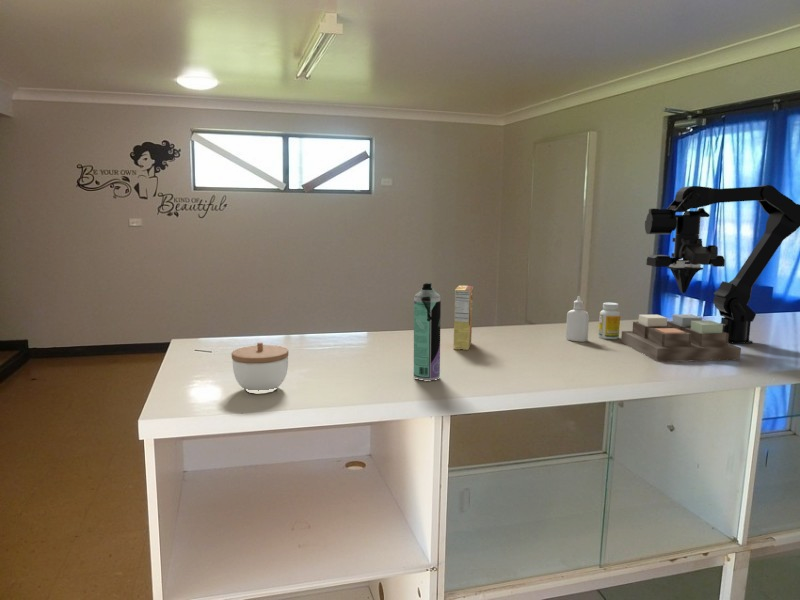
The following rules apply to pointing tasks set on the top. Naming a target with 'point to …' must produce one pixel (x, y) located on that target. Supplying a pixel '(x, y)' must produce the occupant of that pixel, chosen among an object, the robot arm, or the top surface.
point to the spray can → (427, 333)
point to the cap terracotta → (668, 330)
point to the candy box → (463, 317)
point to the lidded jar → (260, 366)
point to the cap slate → (685, 319)
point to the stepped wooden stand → (680, 344)
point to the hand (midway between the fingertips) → (682, 292)
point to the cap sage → (706, 326)
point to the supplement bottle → (609, 321)
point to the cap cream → (652, 320)
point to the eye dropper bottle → (577, 323)
